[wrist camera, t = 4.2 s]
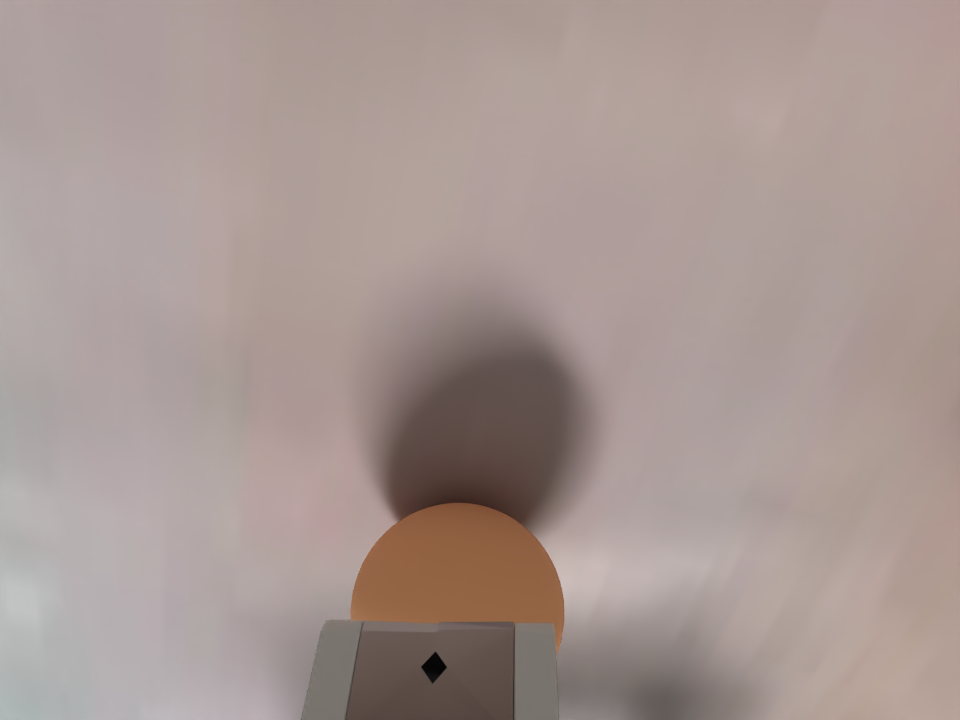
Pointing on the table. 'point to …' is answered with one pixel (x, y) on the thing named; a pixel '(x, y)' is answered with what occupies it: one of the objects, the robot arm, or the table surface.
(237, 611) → the table surface
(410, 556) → the ball
